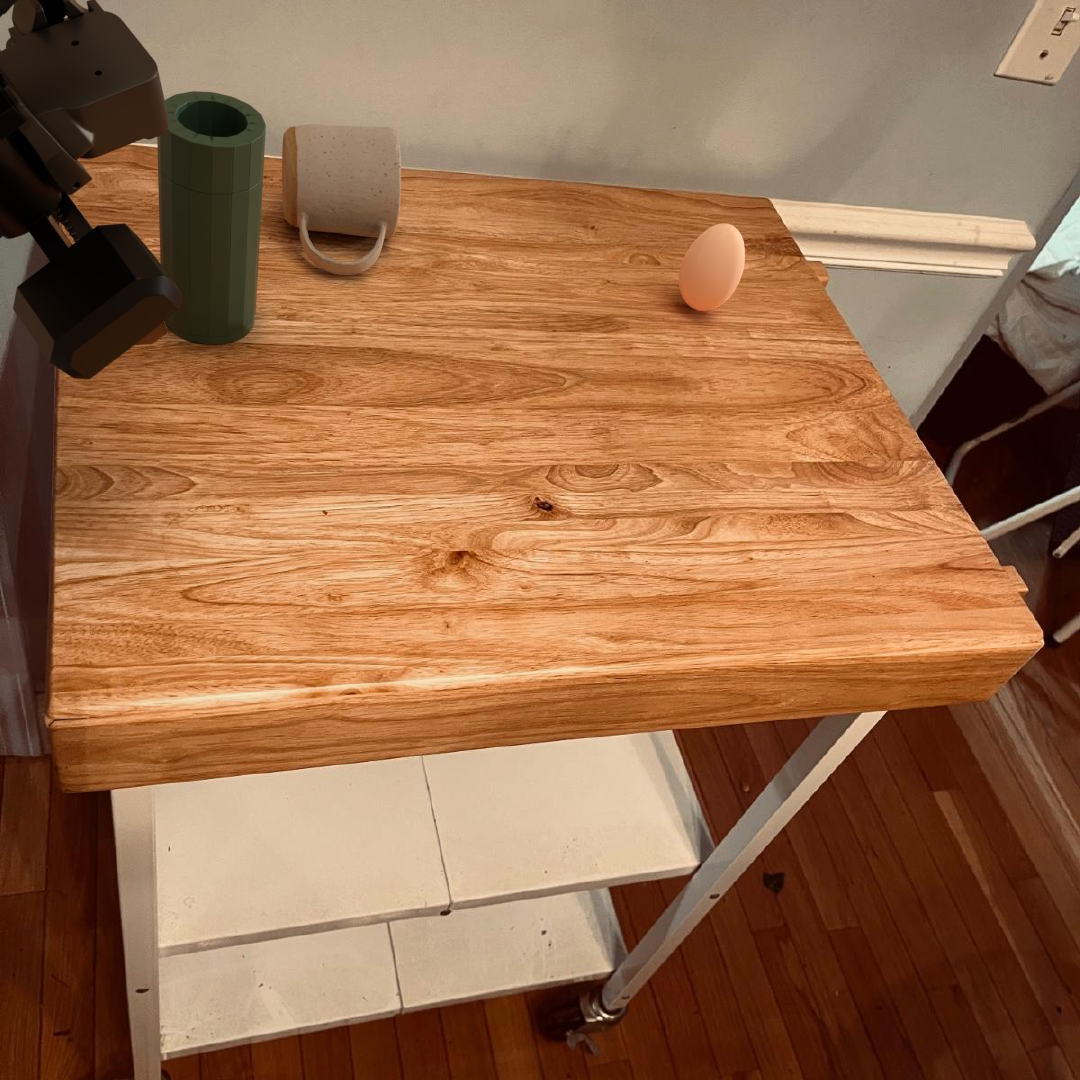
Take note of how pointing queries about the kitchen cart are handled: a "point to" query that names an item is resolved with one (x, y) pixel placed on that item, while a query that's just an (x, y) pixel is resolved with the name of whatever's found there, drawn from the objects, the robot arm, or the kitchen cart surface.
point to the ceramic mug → (342, 186)
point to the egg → (712, 267)
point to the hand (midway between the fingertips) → (114, 275)
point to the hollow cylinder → (211, 213)
